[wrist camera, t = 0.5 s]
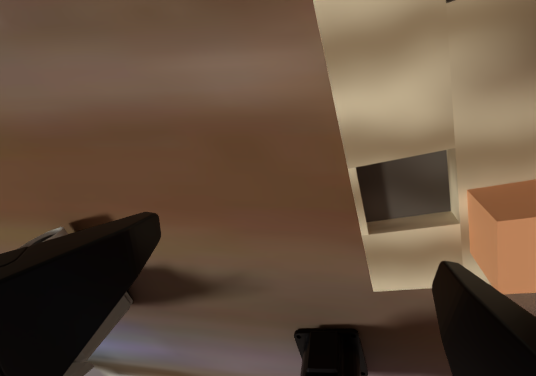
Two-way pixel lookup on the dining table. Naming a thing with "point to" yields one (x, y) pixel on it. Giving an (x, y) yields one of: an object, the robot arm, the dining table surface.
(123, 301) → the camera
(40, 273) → the robot arm
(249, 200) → the dining table surface
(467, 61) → the trap board
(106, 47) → the dining table surface
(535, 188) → the orange block
